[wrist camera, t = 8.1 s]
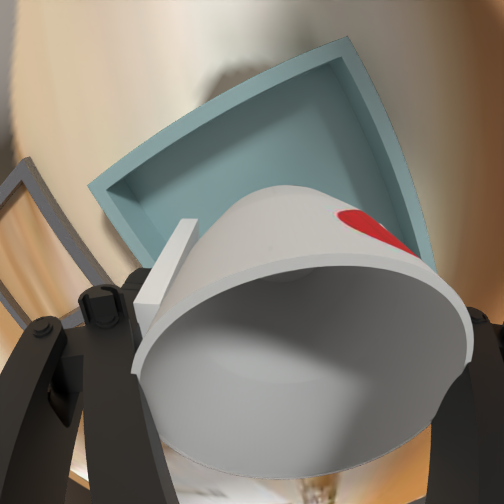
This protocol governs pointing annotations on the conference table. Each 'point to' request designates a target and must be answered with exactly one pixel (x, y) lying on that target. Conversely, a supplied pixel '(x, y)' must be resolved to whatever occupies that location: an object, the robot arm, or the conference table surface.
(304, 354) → the cup
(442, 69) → the conference table surface
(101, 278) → the grey flat square frame
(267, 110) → the bin
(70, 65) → the conference table surface
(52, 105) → the conference table surface
